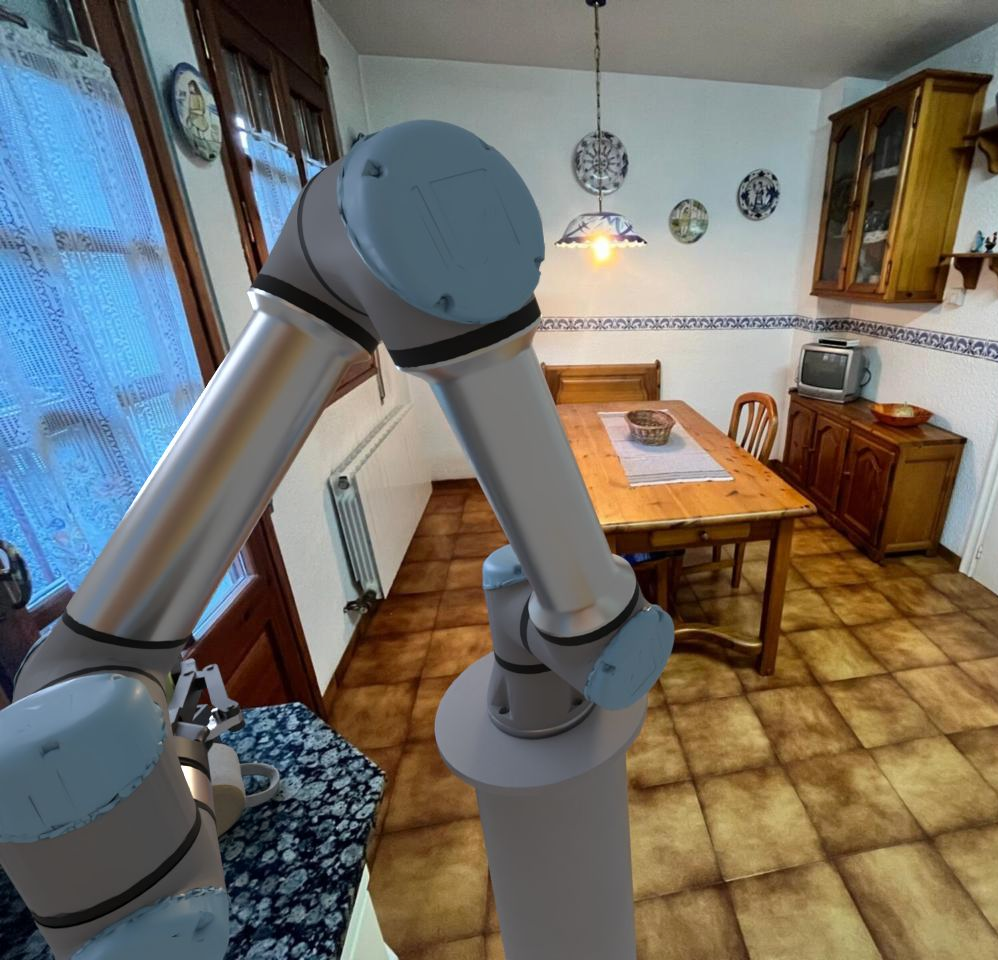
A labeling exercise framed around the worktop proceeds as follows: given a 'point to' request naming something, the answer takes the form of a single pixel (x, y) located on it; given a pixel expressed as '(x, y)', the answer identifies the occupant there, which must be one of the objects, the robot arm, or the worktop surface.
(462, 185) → the robot arm
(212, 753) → the ceramic mug
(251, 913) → the worktop surface
